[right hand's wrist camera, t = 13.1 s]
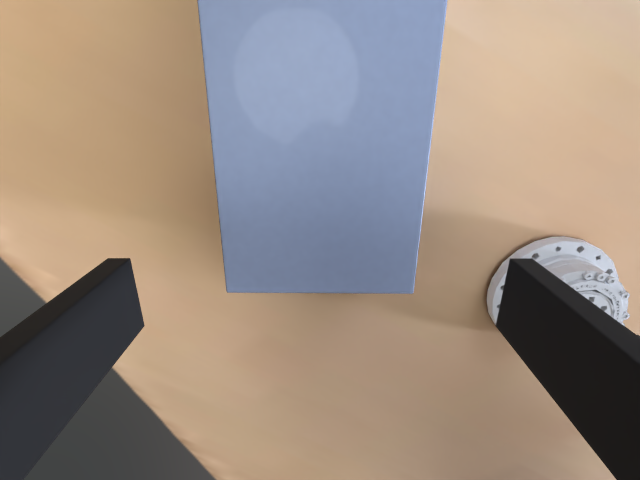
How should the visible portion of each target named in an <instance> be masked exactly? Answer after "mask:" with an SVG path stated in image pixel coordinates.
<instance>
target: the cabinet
mask: <svg viewBox="0 0 640 480" xmlns="http://www.w3.org/2000/svg"><path fill="white" fill-rule="evenodd" d="M446 7H447V0H198V10H199V20H200V30H201V40H202V50H203V60H204V70H205V80H206V90H207V100H208V110H209V120H210V130H211V140H212V150H213V160H214V170H215V180H216V190H217V200H218V210H219V220H220V230H221V240H222V250H223V260H224V270H225V280H226V290H227V292H237V293H403V294H412V293H413V292H414V284H415V275H416V266H417V258H418V249H419V240H420V232H421V223H422V214H423V206H424V197H425V188H426V180H427V171H428V163H429V154H430V145H431V137H432V128H433V119H434V111H435V102H436V93H437V85H438V76H439V67H440V59H441V50H442V41H443V33H444V24H445V15H446Z"/></svg>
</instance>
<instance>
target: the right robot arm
mask: <svg viewBox="0 0 640 480" xmlns="http://www.w3.org/2000/svg"><path fill="white" fill-rule="evenodd" d="M143 327H144V322H143V317H142V312H141V307H140V303H139V298H138V293H137V288H136V284H135V279H134V274H133V270H132V265H131V260H130V258H108V259H107V260H105V261H104V262H102V263H101V264H100V265H98V266H97V267H96V268H94V269H93V270H92V271H90V272H89V273H87V274H86V275H85V276H83V277H82V278H81V279H79V280H78V281H77V282H75V283H74V284H72V285H71V286H70V287H68V288H67V289H66V290H64V291H63V292H62V293H60V294H59V295H57V296H56V297H55V298H53V299H52V300H51V301H49V302H48V303H47V304H45V305H44V306H42V307H41V308H40V309H38V310H37V311H36V312H34V313H33V314H32V315H30V316H29V317H27V318H26V319H25V320H23V321H22V322H21V323H19V324H18V325H17V326H15V327H14V328H12V329H11V330H10V331H8V332H7V333H6V334H4V335H3V336H2V337H0V480H23V479H24V478H25V477H26V476H27V474H28V473H29V472H30V470H31V469H32V468H33V467H34V465H35V464H36V463H37V462H38V460H39V459H40V458H41V456H42V455H43V454H44V453H45V451H46V450H47V449H48V448H49V446H50V445H51V444H52V442H53V441H54V440H55V439H56V437H57V436H58V435H59V434H60V432H61V431H62V430H63V429H64V427H65V426H66V425H67V423H68V422H69V421H70V420H71V418H72V417H73V416H74V415H75V413H76V412H77V411H78V410H79V408H80V407H81V406H82V404H83V403H84V402H85V401H86V399H87V398H88V397H89V395H90V394H91V393H92V392H93V390H94V389H95V388H96V387H97V385H98V384H99V383H100V382H101V380H102V379H103V378H104V376H105V375H106V374H107V373H108V371H109V370H110V369H111V368H112V366H113V365H114V364H115V363H116V361H117V360H118V359H119V357H120V356H121V355H122V354H123V352H124V351H125V350H126V349H127V347H128V346H129V345H130V343H131V342H132V341H133V340H134V338H135V337H136V336H137V335H138V333H139V332H140V331H141V330H142V328H143ZM496 327H497V328H498V330H499V331H500V332H501V333H502V335H503V336H504V337H505V338H506V340H507V341H508V342H509V343H510V345H511V346H512V347H513V349H514V350H515V351H516V352H517V354H518V355H519V356H520V357H521V359H522V360H523V361H524V363H525V364H526V365H527V366H528V368H529V369H530V370H531V371H532V373H533V374H534V375H535V377H536V378H537V379H538V380H539V382H540V383H541V384H542V385H543V387H544V388H545V389H546V390H547V392H548V393H549V394H550V396H551V397H552V398H553V399H554V401H555V402H556V403H557V404H558V406H559V407H560V408H561V410H562V411H563V412H564V413H565V415H566V416H567V417H568V418H569V420H570V421H571V422H572V423H573V425H574V426H575V427H576V429H577V430H578V431H579V432H580V434H581V435H582V436H583V437H584V439H585V440H586V441H587V443H588V444H589V445H590V446H591V448H592V449H593V450H594V451H595V453H596V454H597V455H598V456H599V458H600V459H601V460H602V462H603V463H604V464H605V465H606V467H607V468H608V469H609V470H610V472H611V473H612V474H613V476H614V477H615V478H616V479H617V480H640V336H639V335H636V334H634V333H633V332H632V331H630V330H629V329H628V328H626V327H625V326H623V325H622V324H621V323H619V322H618V321H617V320H615V319H614V318H613V317H611V316H610V315H608V314H607V313H606V312H604V311H603V310H602V309H600V308H599V307H598V306H596V305H595V304H593V303H592V302H591V301H589V300H588V299H587V298H585V297H584V296H583V295H581V294H580V293H578V292H577V291H576V290H574V289H573V288H572V287H570V286H569V285H568V284H566V283H565V282H563V281H562V280H561V279H559V278H558V277H557V276H555V275H554V274H553V273H551V272H550V271H548V270H547V269H546V268H544V267H543V266H542V265H540V264H539V263H538V262H536V261H535V260H533V259H532V258H510V260H509V265H508V270H507V274H506V279H505V284H504V288H503V293H502V298H501V303H500V307H499V312H498V317H497V322H496Z"/></svg>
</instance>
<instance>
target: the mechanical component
mask: <svg viewBox="0 0 640 480" xmlns="http://www.w3.org/2000/svg"><path fill="white" fill-rule="evenodd" d="M510 258H532V259H533V260H535V261H536V262H538V263H539V264H540V265H542V266H543V267H544V268H546V269H547V270H548V271H550V272H551V273H553V274H554V275H555V276H557V277H558V278H559V279H561V280H562V281H563V282H565V283H566V284H568V285H569V286H570V287H572V288H573V289H574V290H576V291H577V292H578V293H580V294H581V295H583V296H584V297H585V298H587V299H588V300H589V301H591V302H592V303H593V304H595V305H596V306H598V307H599V308H600V309H602V310H603V311H604V312H606V313H607V314H608V315H610V316H611V317H613V318H614V319H615V320H617V321H618V322H619V323H621V324H622V325H623V326H625V325H624V323H622V322H623V320H626V319H628V318H629V316H630V315H629V314H628V313H627V308H628V298H629V296H630V294H629V293H628V292H626V291H625V289H624V287H623V285H622V284H621V283H620V282H619V281H618V279H619V277H618V274H617V271H616V269H615V266H614V263H613V261H612V260H611V259H610V258H609V257H608V256H607V255H606V254H605V253H604V252H603V251H602V250H601V249H599V248H597V247H595V246H594V245H592V244H590V243H588V242H586V241H584V240H581V239H576V238H570V237H565V236H561V237H549V238H545V239H541V240H537V241H534V242H532V243H530V244H528V245H526V246H525V247H523V248H521V249H519V250H517V251H516V252H515V253H513V254H512V255H511V256H510V257H509V258H507V259H506V260H505V261H504V262H503V263H502V264H501V266H500V267H499V269H498V270H497V272H496V273H495V275H494V276H493V278H492V280H491V283H490V285H489V288H488V293H487V307H488V313H489V315H490V317H491V318H492V320H493V322H494V324H495V325H496V322H497V317H498V312H499V307H500V303H501V298H502V293H503V288H504V284H505V279H506V274H507V270H508V265H509V260H510Z"/></svg>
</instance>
